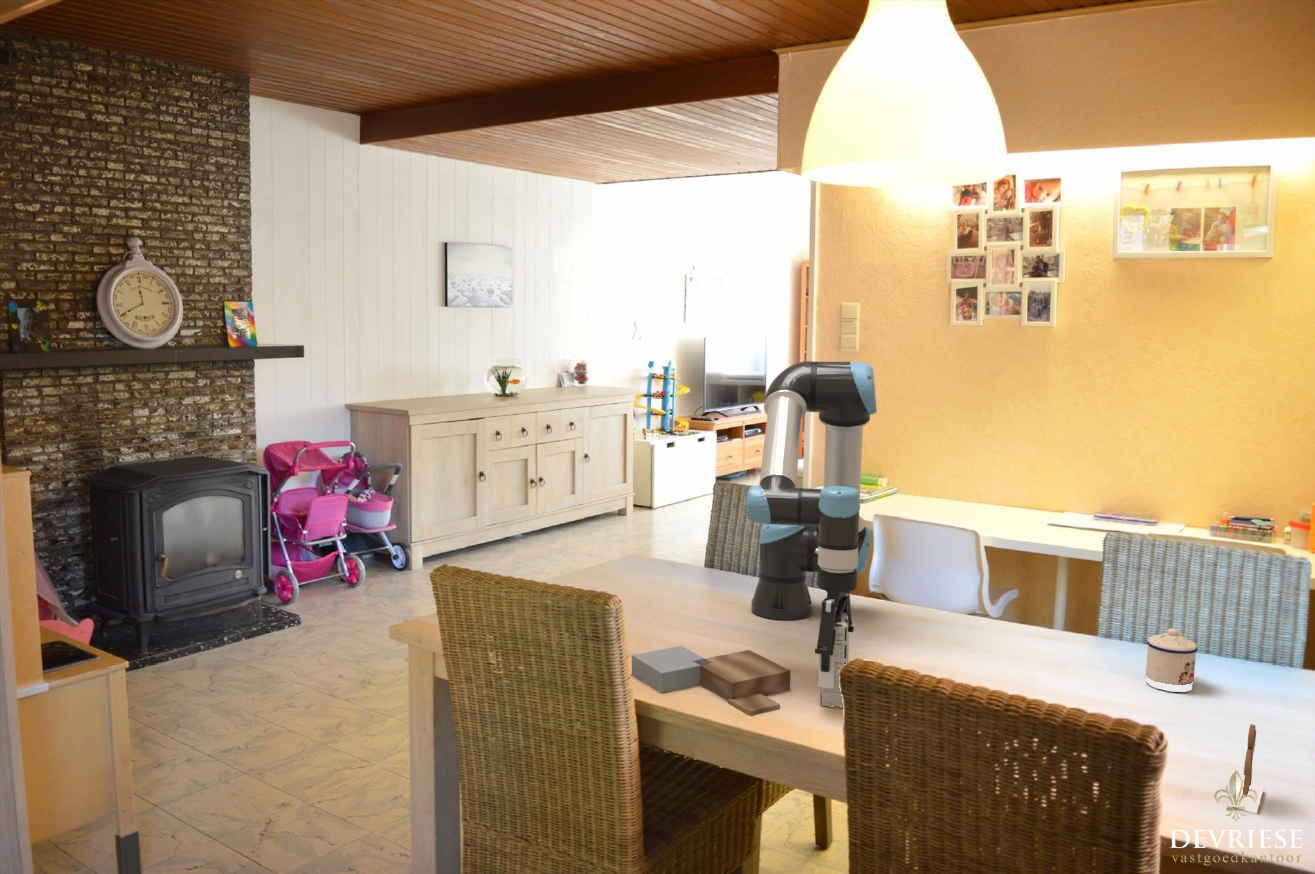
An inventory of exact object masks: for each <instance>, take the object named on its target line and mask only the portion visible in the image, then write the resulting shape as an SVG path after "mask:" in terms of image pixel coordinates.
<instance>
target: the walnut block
mask: <svg viewBox="0 0 1315 874" xmlns="http://www.w3.org/2000/svg"><path fill="white" fill-rule="evenodd" d="M704 658H705V657H704ZM700 660H701V661H698V660H696V661H693V662H695V663H697V664H700V663H701V662H704V664H703V663H701V664H703V665H701V664H700V665H701V671H700V685H699V686H701V687H704V689H706V690H708V691H710V692H712V693H713V694H715V695H717V696H719V697H720V698H722V699H724V700H725V701H727V702H728V699H736V698H740V697H744V696H749V695H753V694H758V693H760V694H762V695H764V696H766V697H767V696H769V695H774V694H779V693H783V692H788V691H791V677H792V676H791V675H792V673H791V671H792V670H790V669H789V668H786V667H784V666H782V665H780V664H778V663H776V662H775V661H772V660H770V659H769V658H767V657H764V656H763V655H760V654H759V653H756V652H755V651H752V650H751V649H746V650H742V651H741V650H740V651H736V652H731V653H726V654H722V655H715V656H711V657H706V658H705V659H703V661H702V659H700ZM706 660H707V661H706ZM708 661H709V662H712V663H709V662H708ZM705 662H706V663H705ZM708 663H709V664H708ZM705 664H706V665H705Z"/></svg>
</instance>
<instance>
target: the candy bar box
mask: <svg viewBox="0 0 1315 874" xmlns="http://www.w3.org/2000/svg"><path fill="white" fill-rule="evenodd" d="M827 613H828V612H827ZM835 629H836V633H835V644H834V649H833V654H834V682H833V689H831V688H824V687H820V706H821V707H823V706H834V707H833V708H835V707H839V708H840V706H841V708H840V709H844V708H843V702H842V696H841V692H840V688H839V670H840V668H841V666H843V665H844V664H846V663H847V645H848V633H849V632H848V613H847V612H843V614H842V619H841V622H837V624H836V623H835V624H834V630H835ZM823 648H827V647H823ZM839 708H838V709H839Z"/></svg>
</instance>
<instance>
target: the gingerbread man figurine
mask: <svg viewBox="0 0 1315 874" xmlns="http://www.w3.org/2000/svg"><path fill="white" fill-rule="evenodd" d="M1249 725H1250V726H1249V729H1248V736H1247V750H1246V753H1245V759H1244V767H1243V775H1244V780H1243V782H1244V787H1243V794H1244V795H1246V796H1247V794H1248V791H1249V786H1250V785H1251V781H1252V780H1253V778H1252V777H1253V775H1252V774H1253V773H1252V772H1253V759H1254V753H1255V746H1256V740H1257V730H1256V724H1253V723H1251V724H1249Z"/></svg>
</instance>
